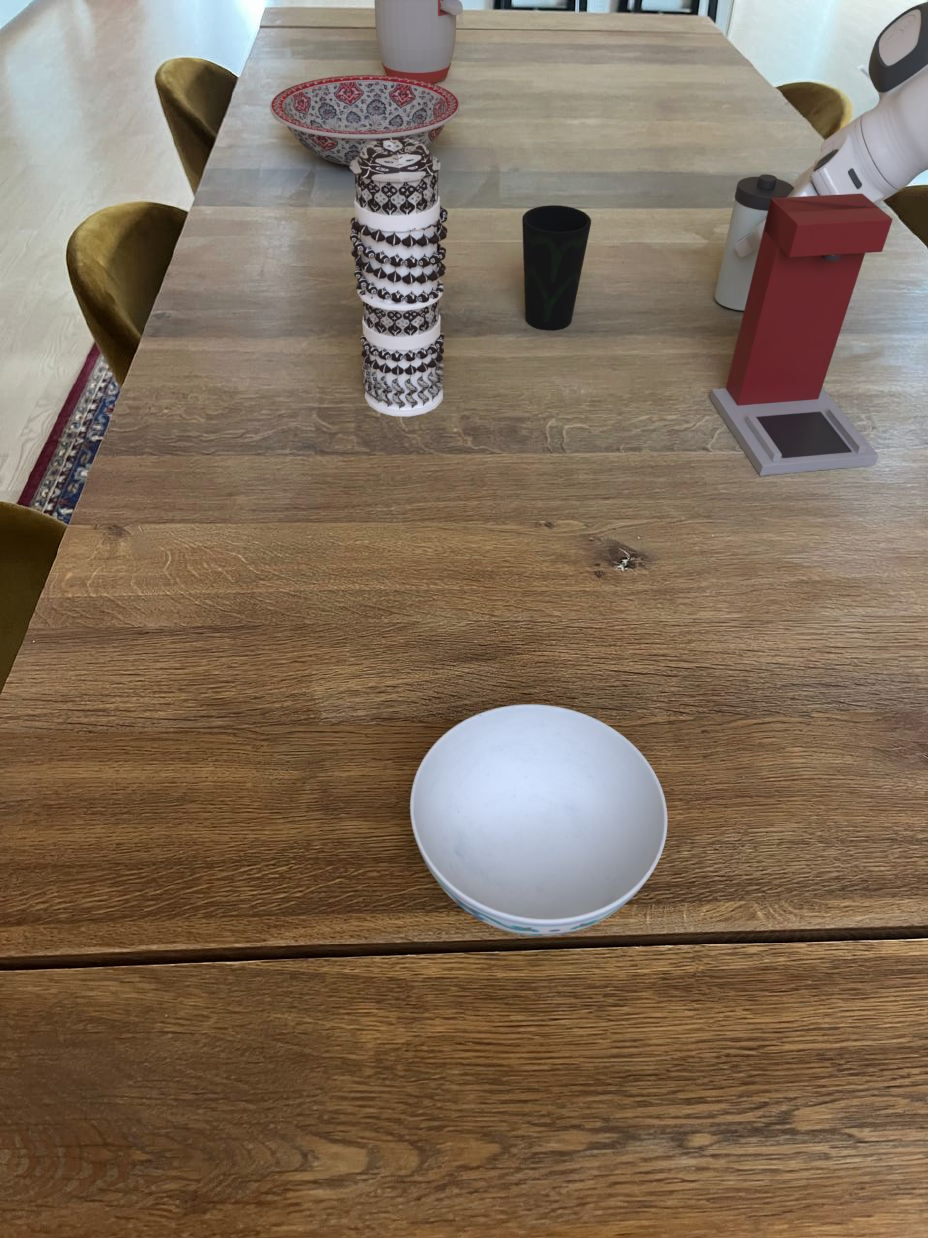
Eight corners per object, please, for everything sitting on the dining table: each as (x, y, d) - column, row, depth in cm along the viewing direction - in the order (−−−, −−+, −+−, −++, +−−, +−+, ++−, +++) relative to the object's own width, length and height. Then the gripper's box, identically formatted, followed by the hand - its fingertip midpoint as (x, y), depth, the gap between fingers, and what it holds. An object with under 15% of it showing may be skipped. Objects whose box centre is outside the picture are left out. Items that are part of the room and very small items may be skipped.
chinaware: (452, 752, 67) (453, 681, 62) (663, 806, 64) (683, 735, 59) (379, 944, 57) (372, 878, 51) (625, 1017, 54) (645, 956, 48)
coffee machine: (874, 465, 93) (956, 256, 78) (759, 476, 91) (821, 264, 76) (814, 390, 102) (877, 192, 88) (709, 398, 101) (755, 198, 86)
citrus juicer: (434, 96, 173) (434, -34, 159) (359, 79, 180) (352, -47, 166) (480, 76, 183) (483, -49, 169) (407, 60, 189) (404, -61, 175)
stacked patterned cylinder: (454, 415, 98) (456, 162, 80) (365, 422, 97) (347, 167, 79) (441, 370, 104) (440, 127, 87) (357, 376, 103) (339, 131, 85)
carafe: (776, 299, 117) (808, 178, 107) (747, 316, 114) (777, 192, 103) (732, 282, 120) (759, 162, 110) (703, 298, 117) (728, 176, 107)
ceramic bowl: (495, 167, 148) (497, 112, 142) (331, 206, 136) (327, 148, 131) (398, 116, 165) (396, 64, 159) (245, 146, 153) (238, 92, 147)
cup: (548, 341, 109) (556, 238, 101) (503, 317, 113) (508, 216, 105) (593, 320, 113) (605, 220, 104) (548, 298, 117) (556, 199, 108)
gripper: (863, 115, 107) (759, 187, 117) (819, 171, 94) (706, 246, 105) (891, 164, 109) (785, 230, 119) (850, 225, 96) (736, 294, 106)
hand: (748, 238), depth 112 cm, fingers closed on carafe, 6 cm apart
